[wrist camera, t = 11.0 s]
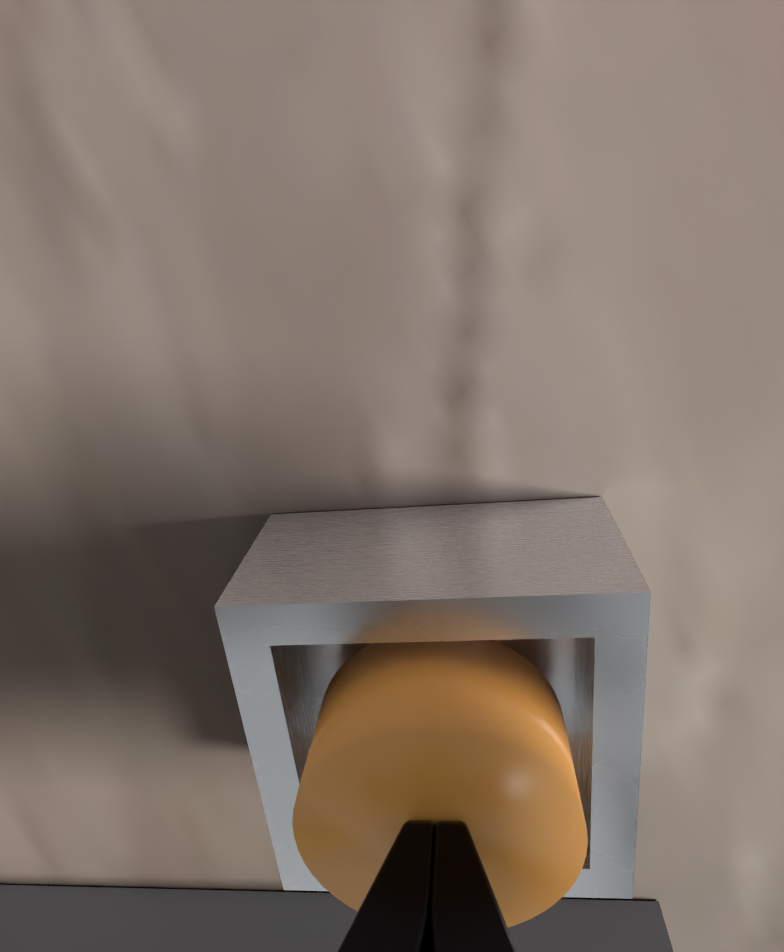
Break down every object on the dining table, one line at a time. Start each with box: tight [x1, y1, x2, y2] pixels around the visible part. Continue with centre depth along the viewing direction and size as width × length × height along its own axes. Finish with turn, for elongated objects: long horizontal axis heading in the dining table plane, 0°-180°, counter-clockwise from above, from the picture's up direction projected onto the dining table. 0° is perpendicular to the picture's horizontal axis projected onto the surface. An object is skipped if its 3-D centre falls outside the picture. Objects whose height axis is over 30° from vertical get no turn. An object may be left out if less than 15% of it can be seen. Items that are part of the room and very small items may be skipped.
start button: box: [292, 640, 588, 927], centre depth 10 cm, size 4×4×2 cm
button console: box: [214, 497, 651, 899], centre depth 11 cm, size 6×6×3 cm
